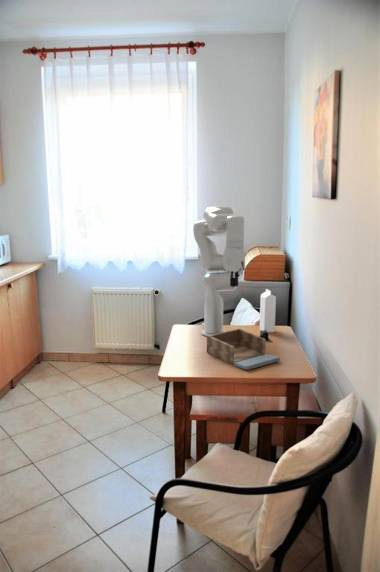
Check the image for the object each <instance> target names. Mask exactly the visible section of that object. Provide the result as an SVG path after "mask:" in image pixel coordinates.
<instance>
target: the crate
mask: <svg viewBox="0 0 380 572" xmlns="http://www.w3.org/2000/svg"><path fill="white" fill-rule="evenodd" d="M259 336H260V335H257V334H253V333H251V332H248V331H246V330H243V329H241V328H238V329H233V330H228V331H227V330H226V332H223V333H218V334H213V335H209V336H206V353H208V354H210V355H212V356H213V357H216V358H218V359H219V360H222V361H224V362H225V363H228V364H230V365H234V363H235V362H239V361H242V360H246V359H250V358H254V357H257V356H261V355H265V354H266V339H264V338H262V337H259Z"/></svg>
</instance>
